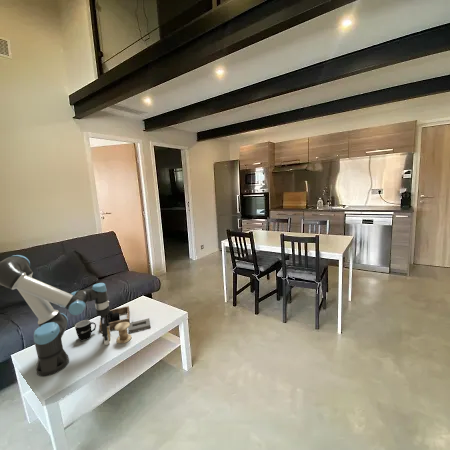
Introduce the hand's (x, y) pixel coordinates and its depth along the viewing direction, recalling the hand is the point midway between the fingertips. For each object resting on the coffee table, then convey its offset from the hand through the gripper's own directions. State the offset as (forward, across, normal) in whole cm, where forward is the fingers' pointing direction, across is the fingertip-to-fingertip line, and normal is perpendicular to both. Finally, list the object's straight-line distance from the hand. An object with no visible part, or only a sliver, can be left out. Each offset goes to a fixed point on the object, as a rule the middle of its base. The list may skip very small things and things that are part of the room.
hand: (107, 339), depth 163 cm
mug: (0, +11, +13) cm, 17 cm away
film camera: (+1, +23, -2) cm, 23 cm away
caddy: (0, +23, -4) cm, 23 cm away
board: (0, +7, -20) cm, 21 cm away
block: (0, 0, 0) cm, 0 cm away
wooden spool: (0, -4, -10) cm, 11 cm away
